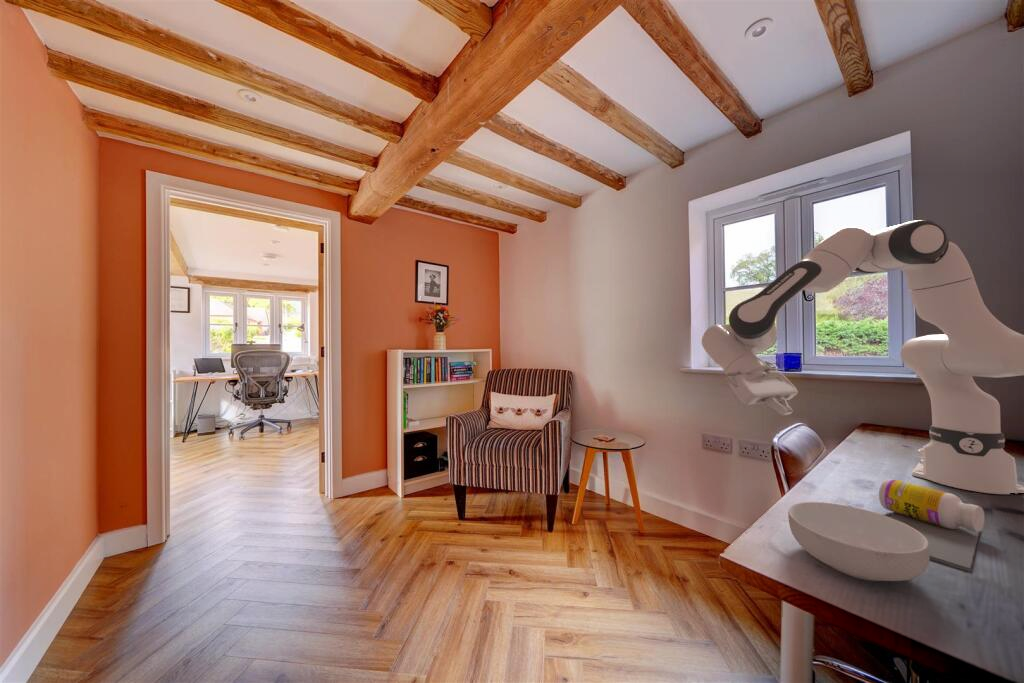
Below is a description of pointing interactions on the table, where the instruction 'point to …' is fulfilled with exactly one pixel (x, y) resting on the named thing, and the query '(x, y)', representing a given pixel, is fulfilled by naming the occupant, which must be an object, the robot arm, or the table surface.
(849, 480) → the table surface
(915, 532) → the cereal bowl
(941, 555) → the mat
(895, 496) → the supplement bottle
